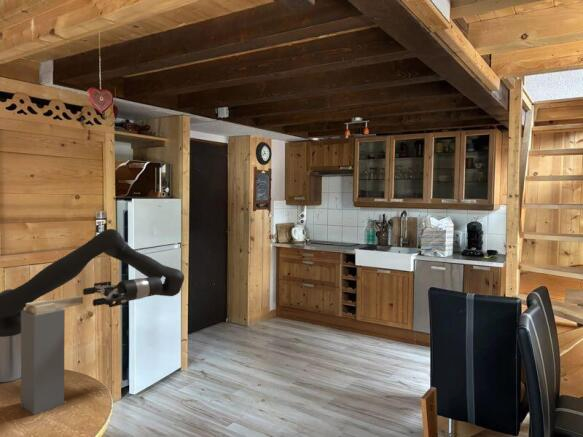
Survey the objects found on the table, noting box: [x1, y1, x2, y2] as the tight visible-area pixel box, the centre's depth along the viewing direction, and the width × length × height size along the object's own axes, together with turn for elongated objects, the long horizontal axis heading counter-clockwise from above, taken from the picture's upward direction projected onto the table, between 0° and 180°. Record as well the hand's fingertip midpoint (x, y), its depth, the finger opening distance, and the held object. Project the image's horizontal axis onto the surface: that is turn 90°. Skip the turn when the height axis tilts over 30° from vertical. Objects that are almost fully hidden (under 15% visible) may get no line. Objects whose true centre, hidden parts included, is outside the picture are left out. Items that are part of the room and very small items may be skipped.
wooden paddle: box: [25, 295, 84, 315], centre depth 147 cm, size 7×16×2 cm, turn 145°
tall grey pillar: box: [20, 308, 66, 416], centre depth 144 cm, size 9×10×32 cm
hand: (88, 297), depth 148 cm, fingers open, 8 cm apart
